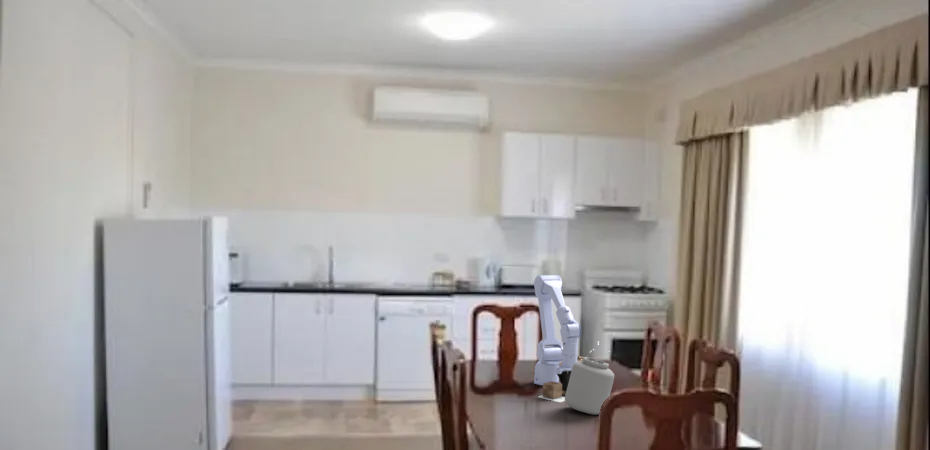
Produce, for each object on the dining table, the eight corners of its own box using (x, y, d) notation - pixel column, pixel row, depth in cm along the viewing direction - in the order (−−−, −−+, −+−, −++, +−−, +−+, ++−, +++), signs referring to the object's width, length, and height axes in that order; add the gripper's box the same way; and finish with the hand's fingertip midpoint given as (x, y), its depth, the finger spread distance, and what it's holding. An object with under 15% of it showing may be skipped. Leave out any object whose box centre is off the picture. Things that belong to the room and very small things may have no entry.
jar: (611, 406, 269) (614, 337, 268) (623, 418, 255) (626, 345, 254) (560, 406, 268) (562, 336, 267) (569, 418, 253) (572, 345, 252)
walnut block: (542, 396, 279) (543, 383, 278) (551, 394, 282) (551, 381, 282) (553, 399, 275) (553, 385, 275) (561, 397, 279) (562, 383, 278)
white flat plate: (537, 397, 279) (537, 396, 279) (549, 394, 284) (549, 393, 284) (559, 402, 272) (559, 401, 272) (570, 399, 277) (570, 398, 277)
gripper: (566, 358, 277) (565, 395, 278) (589, 353, 287) (588, 388, 288) (551, 355, 282) (550, 391, 283) (574, 350, 292) (573, 385, 293)
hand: (568, 389), depth 286 cm, fingers closed on maple block, 4 cm apart
